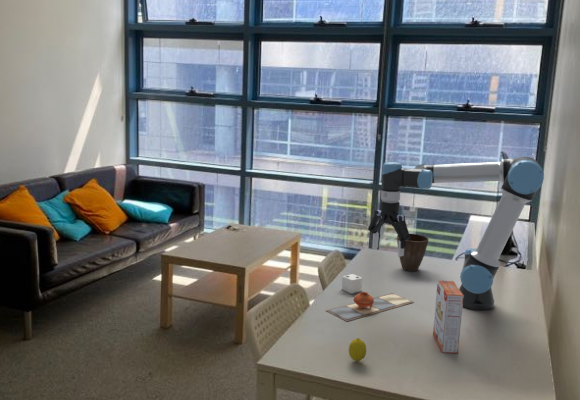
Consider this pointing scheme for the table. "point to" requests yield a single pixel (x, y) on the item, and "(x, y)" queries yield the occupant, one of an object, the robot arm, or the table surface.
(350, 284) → the die
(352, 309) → the board
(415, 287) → the table surface
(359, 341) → the lemon
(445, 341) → the cracker box
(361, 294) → the pot
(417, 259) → the plant pot
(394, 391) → the table surface
